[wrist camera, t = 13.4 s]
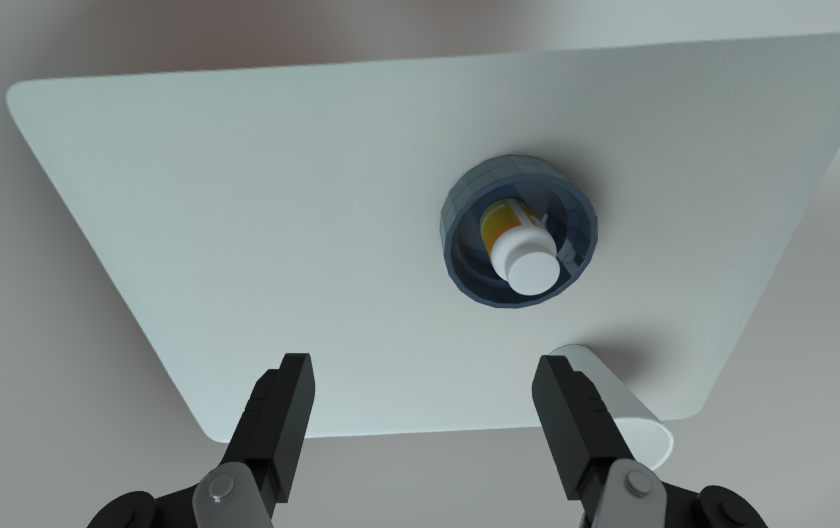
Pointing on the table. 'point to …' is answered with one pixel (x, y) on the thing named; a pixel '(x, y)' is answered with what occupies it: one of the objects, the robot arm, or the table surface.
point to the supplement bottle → (519, 246)
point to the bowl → (549, 201)
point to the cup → (624, 408)
